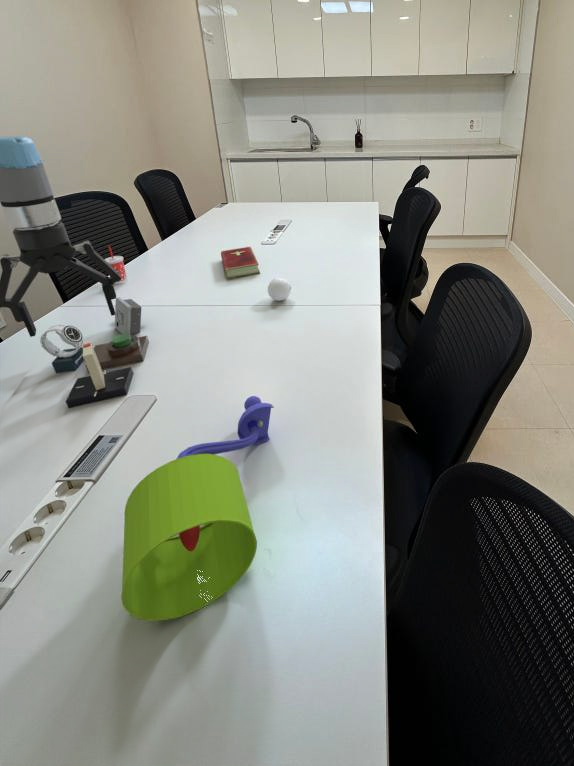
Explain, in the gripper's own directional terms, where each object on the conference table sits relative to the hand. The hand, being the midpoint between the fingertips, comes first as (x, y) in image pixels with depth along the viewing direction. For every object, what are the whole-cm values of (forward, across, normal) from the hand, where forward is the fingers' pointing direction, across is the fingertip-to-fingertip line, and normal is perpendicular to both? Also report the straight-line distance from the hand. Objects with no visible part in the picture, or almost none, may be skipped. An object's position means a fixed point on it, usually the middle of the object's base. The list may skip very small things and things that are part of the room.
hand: (75, 322), depth 81 cm
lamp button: (+14, -6, -11) cm, 19 cm away
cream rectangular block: (+15, 0, +1) cm, 15 cm away
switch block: (+18, -5, -12) cm, 22 cm away
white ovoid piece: (+18, -51, -17) cm, 56 cm away
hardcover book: (+18, -49, -52) cm, 73 cm away
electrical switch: (+18, -8, -25) cm, 32 cm away
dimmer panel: (+18, 0, +1) cm, 18 cm away
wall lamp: (+17, -15, +43) cm, 49 cm away
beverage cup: (+18, -9, -65) cm, 68 cm away
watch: (+18, +5, -15) cm, 24 cm away
